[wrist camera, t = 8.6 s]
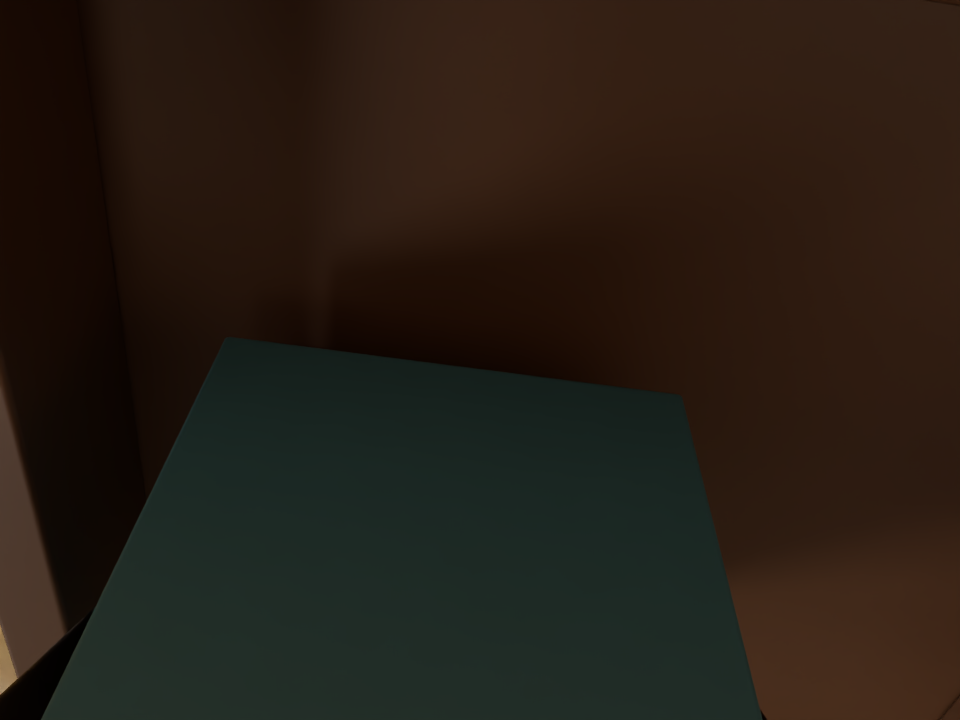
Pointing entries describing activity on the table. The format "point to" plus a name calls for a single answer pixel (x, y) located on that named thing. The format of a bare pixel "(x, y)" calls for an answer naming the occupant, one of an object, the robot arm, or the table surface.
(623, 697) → the block
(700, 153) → the tray
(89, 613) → the robot arm
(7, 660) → the table surface
